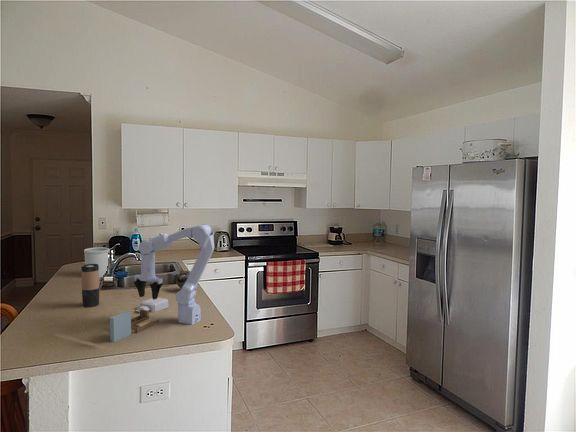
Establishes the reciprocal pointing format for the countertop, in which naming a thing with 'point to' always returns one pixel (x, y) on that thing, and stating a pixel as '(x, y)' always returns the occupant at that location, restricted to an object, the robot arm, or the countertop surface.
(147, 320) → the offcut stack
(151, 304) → the charger
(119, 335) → the board
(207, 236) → the robot arm
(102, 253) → the utensil holder
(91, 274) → the travel mug
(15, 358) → the countertop surface
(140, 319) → the tray
